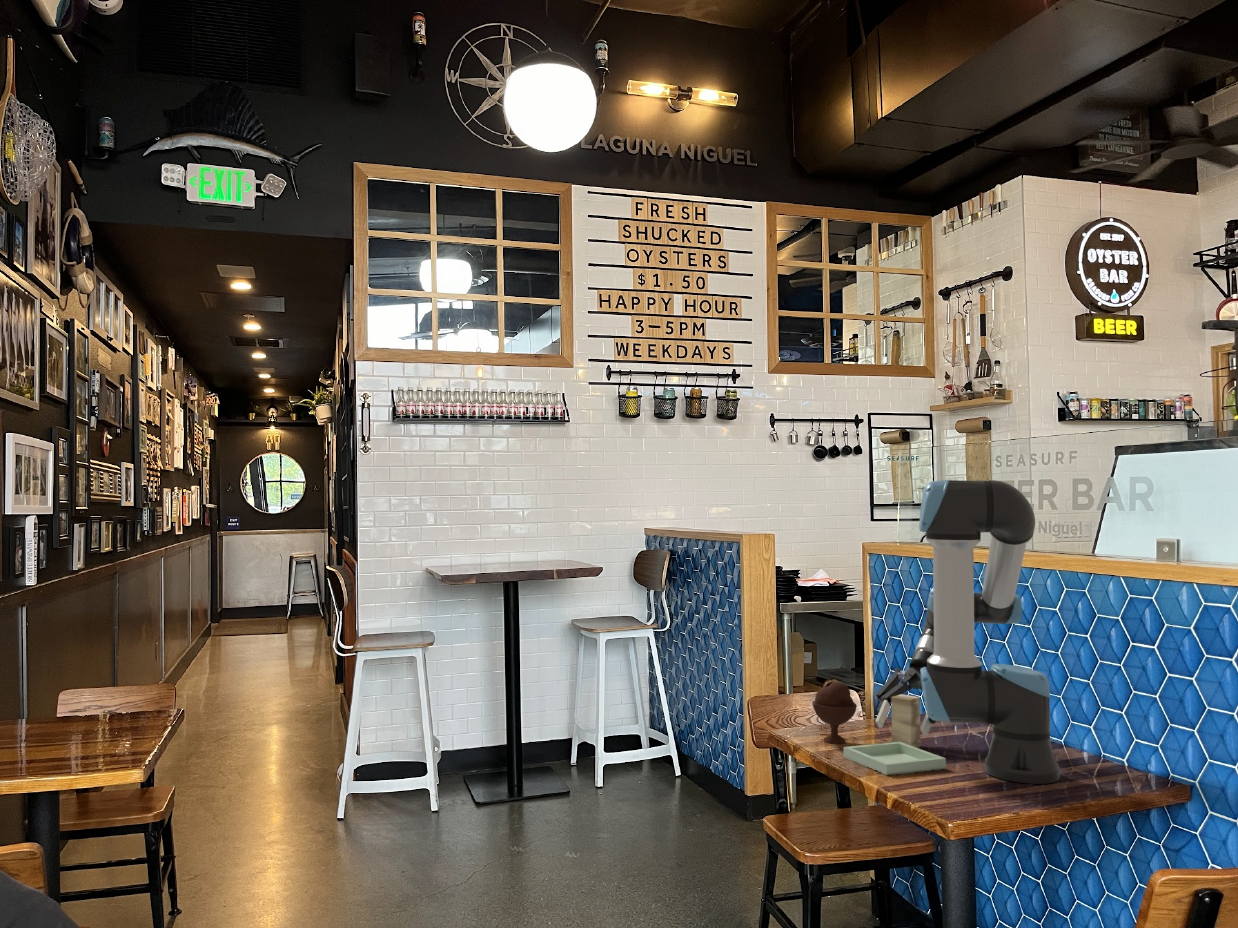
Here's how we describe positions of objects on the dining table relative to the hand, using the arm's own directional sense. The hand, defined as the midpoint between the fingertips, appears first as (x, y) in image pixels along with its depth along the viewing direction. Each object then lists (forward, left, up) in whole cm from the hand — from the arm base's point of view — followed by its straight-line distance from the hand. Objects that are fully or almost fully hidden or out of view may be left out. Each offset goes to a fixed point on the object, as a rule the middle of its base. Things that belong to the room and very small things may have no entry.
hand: (900, 728), depth 223 cm
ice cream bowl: (+11, +11, -5) cm, 17 cm away
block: (+1, -3, -5) cm, 5 cm away
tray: (-11, +10, -5) cm, 16 cm away
